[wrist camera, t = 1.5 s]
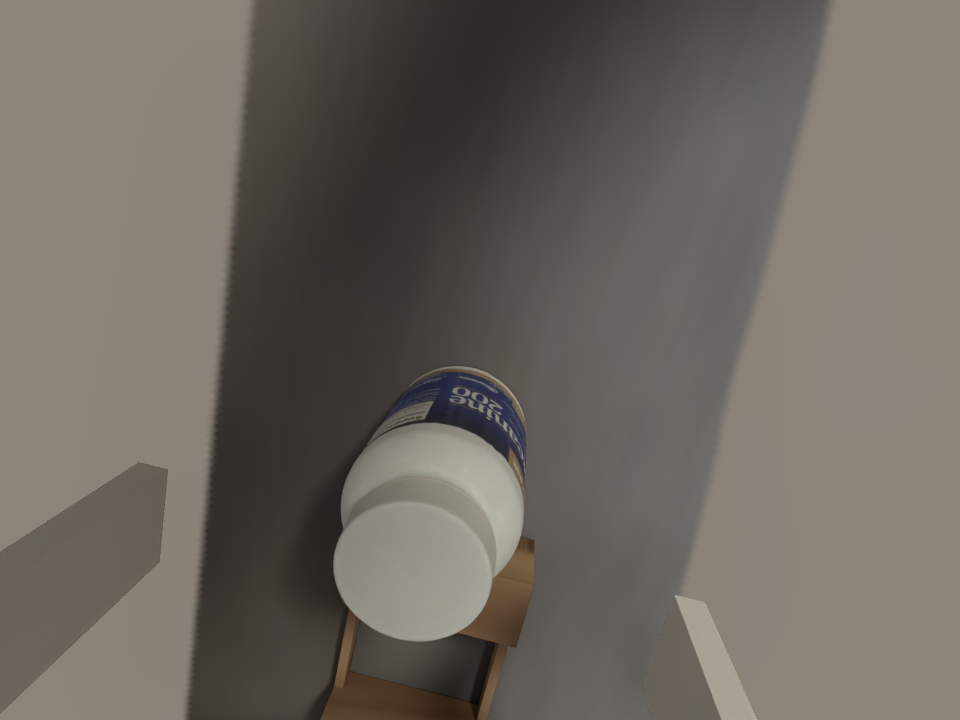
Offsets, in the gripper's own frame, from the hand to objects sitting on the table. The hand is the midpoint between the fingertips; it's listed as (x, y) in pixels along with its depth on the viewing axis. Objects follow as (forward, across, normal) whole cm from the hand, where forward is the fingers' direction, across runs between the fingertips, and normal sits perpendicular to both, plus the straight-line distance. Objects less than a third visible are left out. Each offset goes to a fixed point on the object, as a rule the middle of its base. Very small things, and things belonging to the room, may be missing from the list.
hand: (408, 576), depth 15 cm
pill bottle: (+10, 0, +1) cm, 10 cm away
